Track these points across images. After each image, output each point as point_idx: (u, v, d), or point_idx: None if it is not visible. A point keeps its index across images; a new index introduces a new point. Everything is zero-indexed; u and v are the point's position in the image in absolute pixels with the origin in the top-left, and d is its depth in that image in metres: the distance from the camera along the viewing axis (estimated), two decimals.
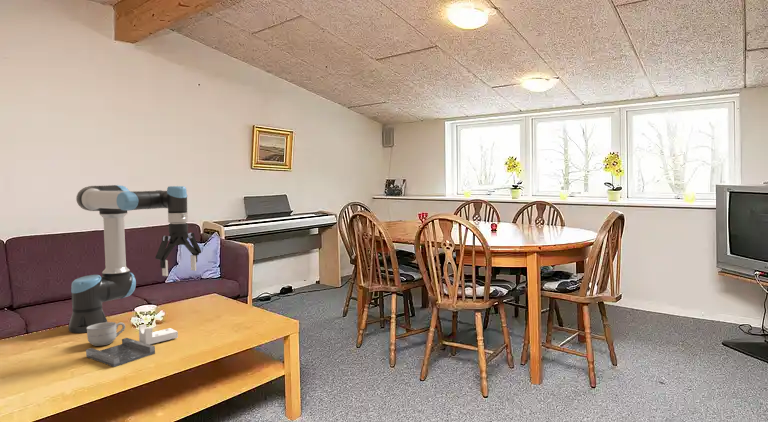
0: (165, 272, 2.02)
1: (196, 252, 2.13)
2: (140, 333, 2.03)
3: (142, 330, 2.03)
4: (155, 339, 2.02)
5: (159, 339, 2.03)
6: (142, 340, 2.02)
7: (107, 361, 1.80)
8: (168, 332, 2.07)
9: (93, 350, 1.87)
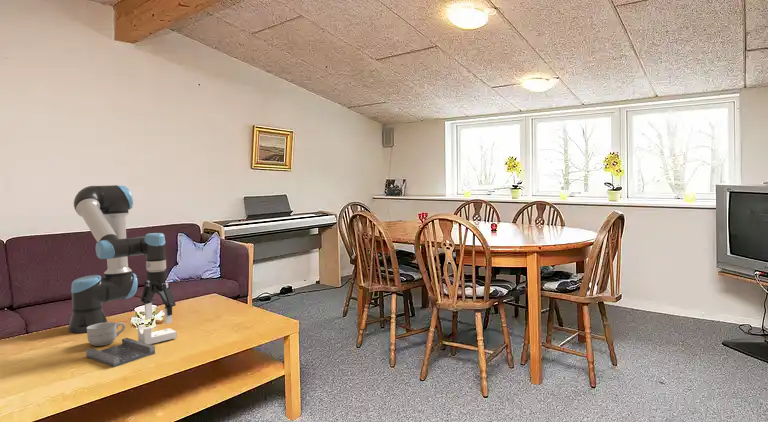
0: None
1: (166, 305, 2.00)
2: (139, 333, 2.03)
3: (141, 330, 2.03)
4: (154, 339, 2.02)
5: (158, 339, 2.03)
6: (141, 340, 2.01)
7: (107, 361, 1.80)
8: (167, 333, 2.07)
9: (93, 350, 1.87)
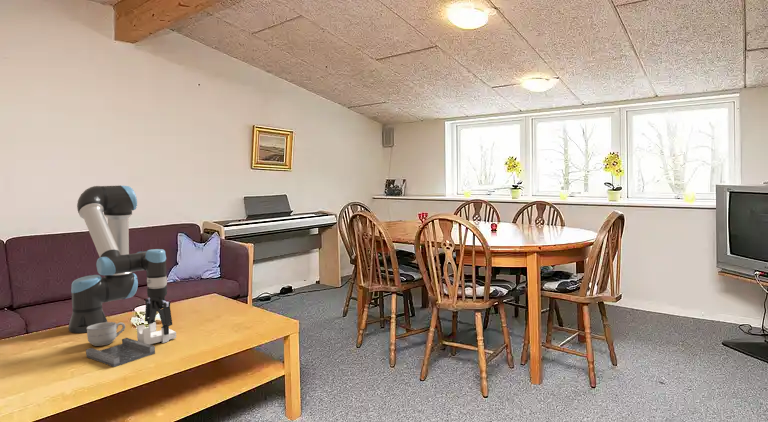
0: None
1: (163, 324, 2.02)
2: (138, 333, 2.03)
3: (140, 330, 2.03)
4: (154, 340, 2.02)
5: (157, 339, 2.03)
6: (141, 341, 2.01)
7: (107, 361, 1.80)
8: None
9: (93, 350, 1.87)
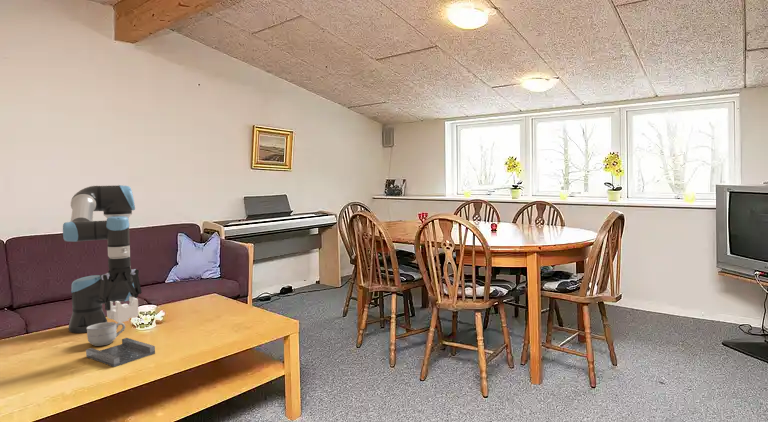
0: (110, 315, 1.85)
1: (135, 293, 1.93)
2: (122, 309, 1.83)
3: (122, 306, 1.84)
4: None
5: None
6: (129, 314, 1.85)
7: (107, 361, 1.80)
8: (126, 305, 1.93)
9: (93, 350, 1.87)
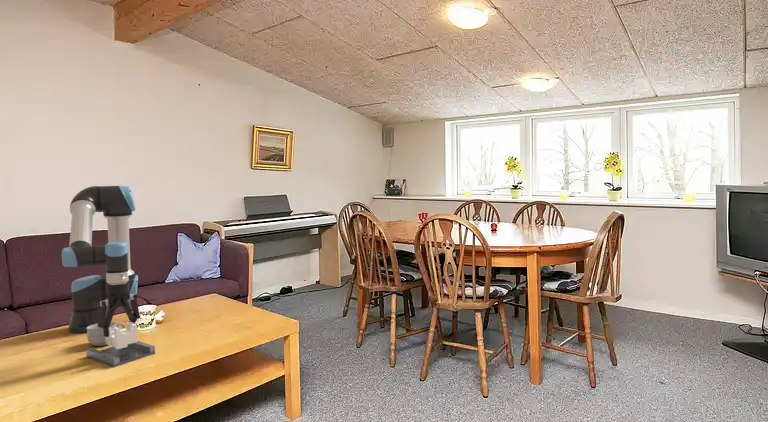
0: (109, 341, 1.85)
1: (134, 318, 1.93)
2: (121, 336, 1.83)
3: (121, 332, 1.83)
4: None
5: None
6: (128, 341, 1.85)
7: (107, 361, 1.80)
8: (125, 330, 1.92)
9: (93, 350, 1.87)
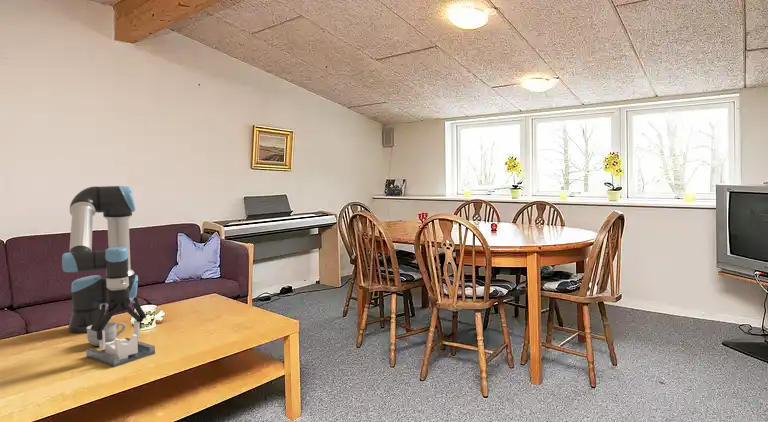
0: (102, 344, 1.83)
1: (140, 318, 1.95)
2: (122, 347, 1.83)
3: (121, 343, 1.84)
4: None
5: None
6: (129, 351, 1.85)
7: (107, 361, 1.80)
8: (125, 341, 1.93)
9: (93, 350, 1.87)
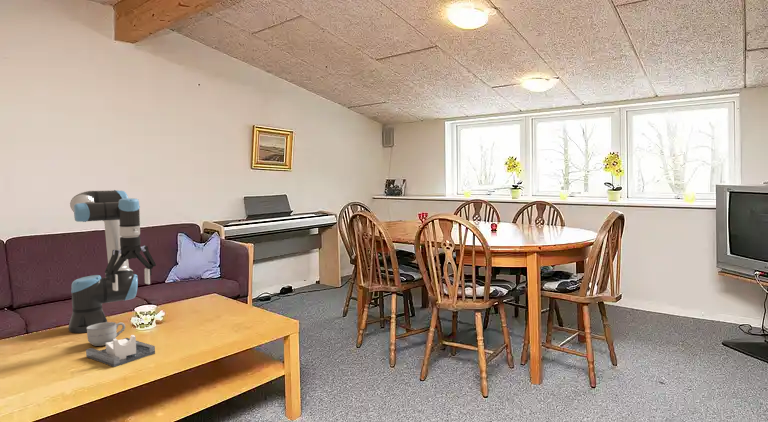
0: (115, 287, 1.98)
1: (150, 265, 2.09)
2: (119, 347, 1.82)
3: (119, 344, 1.83)
4: None
5: None
6: (127, 352, 1.84)
7: (107, 361, 1.80)
8: (125, 341, 1.92)
9: (93, 350, 1.87)
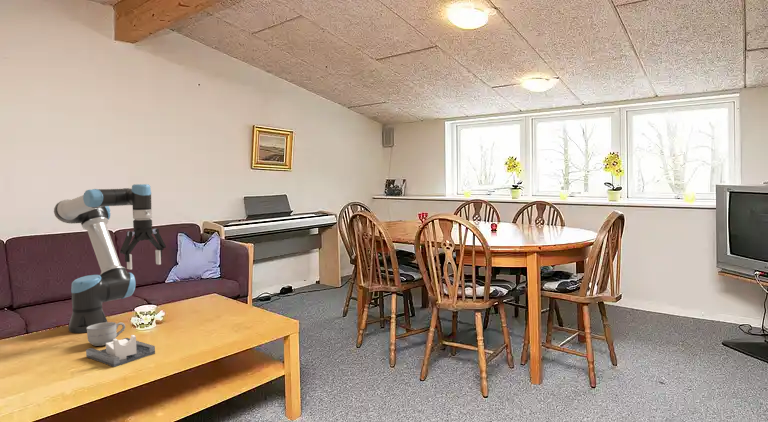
0: (129, 266, 2.13)
1: (161, 247, 2.25)
2: (120, 347, 1.82)
3: (120, 344, 1.83)
4: None
5: None
6: (127, 352, 1.84)
7: (107, 361, 1.80)
8: (125, 341, 1.92)
9: (93, 350, 1.87)
